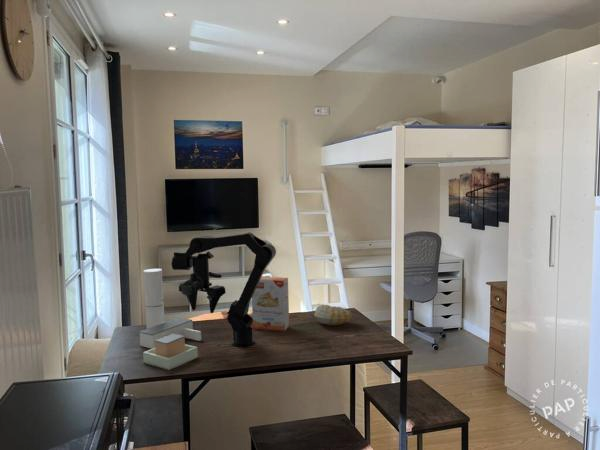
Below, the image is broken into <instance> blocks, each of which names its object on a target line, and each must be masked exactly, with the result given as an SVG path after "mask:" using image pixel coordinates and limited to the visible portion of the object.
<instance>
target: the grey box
mask: <svg viewBox="0 0 600 450" xmlns="http://www.w3.org/2000/svg"><path fill="white" fill-rule="evenodd" d="M185 344H186V338H185V336H182V335H178V334H171V335H168V336H166V337H163V338H160V339H158V340H155V347H156V355H160V356H163V357H167V358H171V357H173V356H175V355H178V354H180V353H182V352H184V351H185Z"/></svg>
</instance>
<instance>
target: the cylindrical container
mask: <svg viewBox="0 0 600 450" xmlns="http://www.w3.org/2000/svg"><path fill="white" fill-rule="evenodd" d="M163 282H164V281H163V269H162V268H148V269H144V270H143V286H144V287H143V288H144V303H145V321H146V322H145V323H146V329H148V328H151V327H154V326H157V325H160V324H163V323H165V322H166V319H165V301H164V285H163Z"/></svg>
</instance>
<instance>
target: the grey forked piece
mask: <svg viewBox="0 0 600 450" xmlns="http://www.w3.org/2000/svg"><path fill="white" fill-rule="evenodd" d="M193 325H194V324H193V319H190V318H186V317H177V318H174V319H171V320H169V321H165V323H163V324H160V325H157V326H154V327H151V328H148V329H147V328H146V329H143V330H140V331H139V332H138V333H139V346H140V347H145V348H147V349H153V348H155V340H158V339H160V338H163V337H166V336H168V335H171V334H178V335H182V336H185V339H188V340H193V341H198V342H201V341H202V331H201V330H196V329H193V328H194V326H193Z"/></svg>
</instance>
